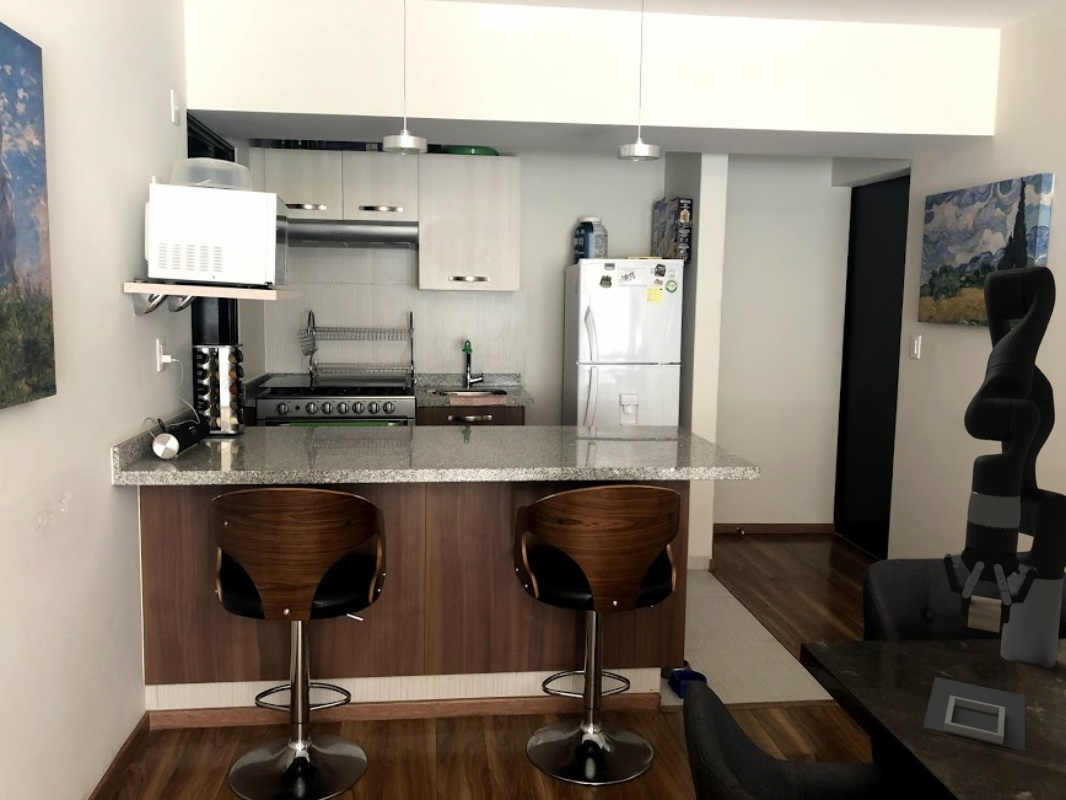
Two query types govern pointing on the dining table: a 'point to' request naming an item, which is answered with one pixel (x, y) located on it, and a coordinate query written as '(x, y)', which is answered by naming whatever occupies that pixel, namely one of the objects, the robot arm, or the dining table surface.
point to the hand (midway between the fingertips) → (984, 621)
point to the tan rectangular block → (984, 613)
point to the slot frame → (970, 730)
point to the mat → (976, 718)
